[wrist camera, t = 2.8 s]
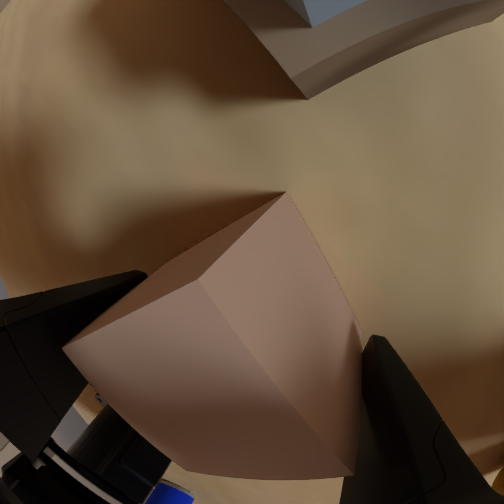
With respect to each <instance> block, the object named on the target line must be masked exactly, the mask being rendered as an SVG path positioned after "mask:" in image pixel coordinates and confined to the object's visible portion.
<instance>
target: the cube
mask: <svg viewBox="0 0 504 504" xmlns="http://www.w3.org/2000/svg"><path fill="white" fill-rule="evenodd" d="M62 349H63V351H64V352H65V353H66V355H67V356H68V357H69V359H70V360H71V361H72V362H73V364H74V365H75V366H76V367H77V369H78V370H79V371H80V372H81V374H82V375H83V376H84V377H85V378H86V379H87V381H88V382H89V383H90V384H91V385H92V386H93V388H94V389H95V390H96V391H97V392H98V393H99V394H100V395H101V396H102V397H103V398H104V400H105V401H106V402H107V403H108V404H109V405H110V406H111V407H112V408H113V409H114V410H115V411H116V412H117V413H118V414H119V415H120V416H121V417H122V418H123V419H124V420H125V421H126V422H127V423H128V424H130V425H131V426H132V427H133V428H134V429H135V430H136V431H137V432H138V433H139V434H141V435H142V436H143V437H144V438H145V439H146V440H147V441H149V442H150V443H151V444H152V445H153V446H155V447H156V448H157V449H158V450H159V451H161V452H162V453H163V454H164V455H166V456H167V457H168V458H170V459H171V460H172V461H174V462H175V463H176V464H178V465H179V466H180V467H182V468H183V469H184V470H186V471H190V472H196V473H202V474H209V475H216V476H224V477H233V478H244V479H260V480H309V479H325V478H336V477H345V476H353V475H354V474H355V466H356V458H357V450H358V440H359V429H360V415H361V397H362V330H361V328H360V326H359V324H358V322H357V320H356V318H355V316H354V314H353V312H352V310H351V308H350V306H349V304H348V302H347V300H346V298H345V296H344V294H343V292H342V290H341V288H340V286H339V284H338V282H337V280H336V279H335V277H334V275H333V273H332V271H331V269H330V267H329V265H328V263H327V262H326V260H325V258H324V256H323V254H322V252H321V251H320V249H319V247H318V245H317V243H316V242H315V240H314V238H313V236H312V234H311V233H310V231H309V229H308V227H307V226H306V224H305V222H304V220H303V219H302V217H301V215H300V213H299V212H298V210H297V208H296V206H295V205H294V203H293V201H292V200H291V198H290V196H289V195H288V193H287V192H285V193H284V194H282V195H280V196H278V197H276V198H275V199H273V200H271V201H269V202H268V203H266V204H264V205H262V206H261V207H259V208H257V209H255V210H254V211H252V212H250V213H248V214H247V215H245V216H243V217H242V218H240V219H238V220H236V221H235V222H233V223H231V224H230V225H228V226H226V227H225V228H223V229H221V230H220V231H218V232H216V233H214V234H213V235H211V236H209V237H208V238H206V239H204V240H203V241H201V242H200V243H198V244H196V245H195V246H193V247H191V248H190V249H188V250H186V251H185V252H183V253H181V254H180V255H178V256H177V257H175V258H173V259H172V260H170V261H169V262H167V263H165V264H164V265H163V266H161V267H160V268H159V269H158V270H156V271H155V272H154V273H152V274H151V275H150V276H149V277H147V278H146V279H145V280H143V281H142V282H141V283H140V284H138V285H137V286H136V287H135V288H133V289H132V290H131V291H130V292H128V293H127V294H126V295H125V296H123V297H122V298H121V299H120V300H118V301H117V302H116V303H115V304H113V305H112V306H111V307H110V308H108V309H107V310H106V311H105V312H104V313H102V314H101V315H100V316H99V317H98V318H96V319H95V320H94V321H93V322H92V323H90V324H89V325H88V326H87V327H86V328H84V329H83V330H82V331H81V332H80V333H79V334H77V335H76V336H75V337H74V338H73V339H72V340H70V341H69V342H68V343H67V344H66V345H65V346H63V347H62Z"/></svg>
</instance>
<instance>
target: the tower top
mask: <svg viewBox="0 0 504 504" xmlns="http://www.w3.org/2000/svg"><path fill="white" fill-rule="evenodd" d="M284 1H285V2H286V3H287V4H288V5H289V6H291V7H292V8H293V9H294V10H295V11H296V12H297V13H298V14H299V15H300V16H301V17H302V18H303V19H304V20H305V21H306V22H307V23H308V24H309V25H310V26H311V27H312V28H313V27H315V26H317V25H318V24H320V23H322V22H324V21H326V20H328V19H329V18H331V17H333V16H335V15H337V14H339V13H341V12H343V11H345V10H347V9H349V8H352V7H354V6H356V5H358V4H360V3H362V2H365V1H367V0H284Z"/></svg>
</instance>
